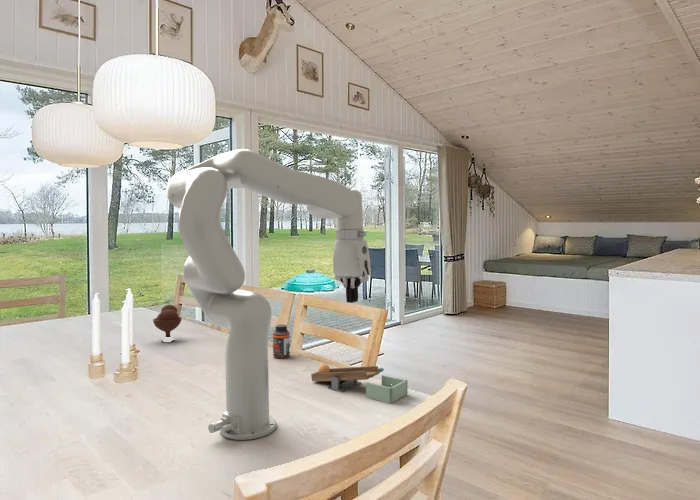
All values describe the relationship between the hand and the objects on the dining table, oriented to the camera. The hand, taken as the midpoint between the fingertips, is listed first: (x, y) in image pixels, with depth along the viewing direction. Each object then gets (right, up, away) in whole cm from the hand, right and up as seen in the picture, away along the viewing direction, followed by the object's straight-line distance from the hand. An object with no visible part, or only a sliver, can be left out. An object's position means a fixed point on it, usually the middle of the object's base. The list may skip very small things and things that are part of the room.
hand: (352, 301), depth 130 cm
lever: (-1, -23, +7) cm, 24 cm away
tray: (+9, -25, -3) cm, 27 cm away
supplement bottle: (-25, -24, +38) cm, 52 cm away
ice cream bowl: (-76, -24, +64) cm, 102 cm away
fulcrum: (-2, -25, +6) cm, 26 cm away
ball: (-8, -22, +10) cm, 25 cm away
